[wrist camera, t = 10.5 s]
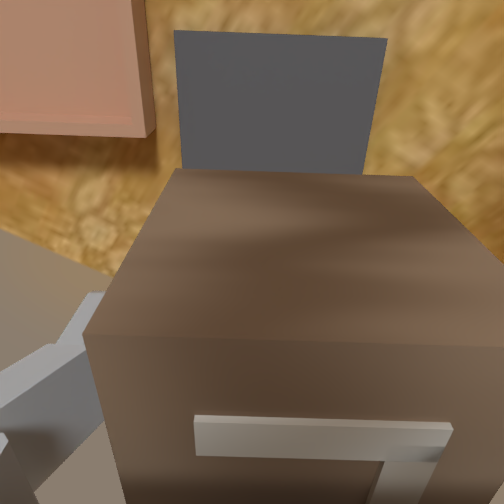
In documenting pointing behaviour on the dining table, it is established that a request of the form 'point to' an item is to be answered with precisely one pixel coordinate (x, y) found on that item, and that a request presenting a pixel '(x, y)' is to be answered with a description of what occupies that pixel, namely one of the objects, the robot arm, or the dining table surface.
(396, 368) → the letter cube
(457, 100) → the dining table surface
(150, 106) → the dish terracotta
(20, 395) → the robot arm
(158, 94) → the dining table surface
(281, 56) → the charcoal mat
